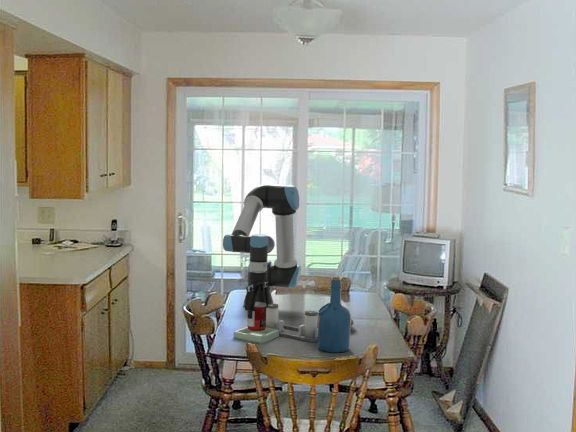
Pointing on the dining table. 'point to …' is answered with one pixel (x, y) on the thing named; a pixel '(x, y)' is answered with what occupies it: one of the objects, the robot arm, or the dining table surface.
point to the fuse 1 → (272, 316)
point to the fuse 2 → (310, 323)
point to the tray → (256, 335)
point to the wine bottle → (334, 322)
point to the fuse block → (300, 330)
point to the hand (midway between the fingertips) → (256, 323)
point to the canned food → (259, 317)
